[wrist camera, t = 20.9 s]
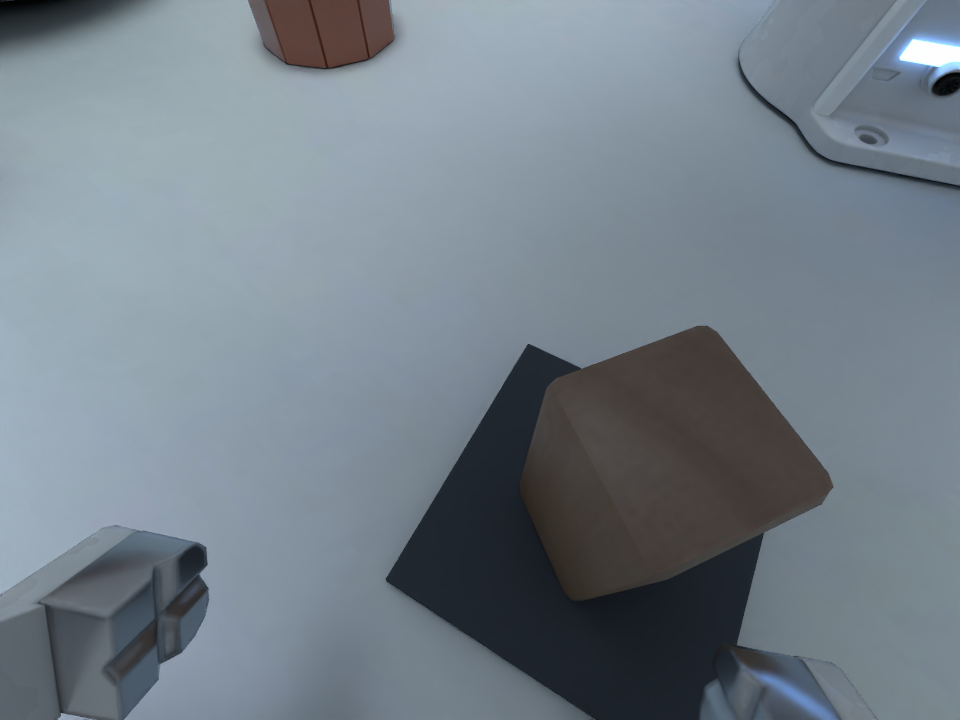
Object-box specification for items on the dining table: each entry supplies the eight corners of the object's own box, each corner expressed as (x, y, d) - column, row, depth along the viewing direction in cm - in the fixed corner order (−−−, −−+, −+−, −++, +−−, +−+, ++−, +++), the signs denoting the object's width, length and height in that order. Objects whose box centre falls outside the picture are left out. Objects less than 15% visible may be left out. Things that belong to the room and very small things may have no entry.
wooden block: (615, 443, 17) (712, 312, 10) (679, 553, 15) (854, 490, 8) (514, 484, 16) (541, 375, 9) (567, 606, 14) (654, 588, 7)
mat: (776, 465, 17) (782, 461, 16) (695, 784, 12) (701, 789, 12) (527, 348, 19) (528, 343, 19) (387, 581, 15) (384, 580, 14)
